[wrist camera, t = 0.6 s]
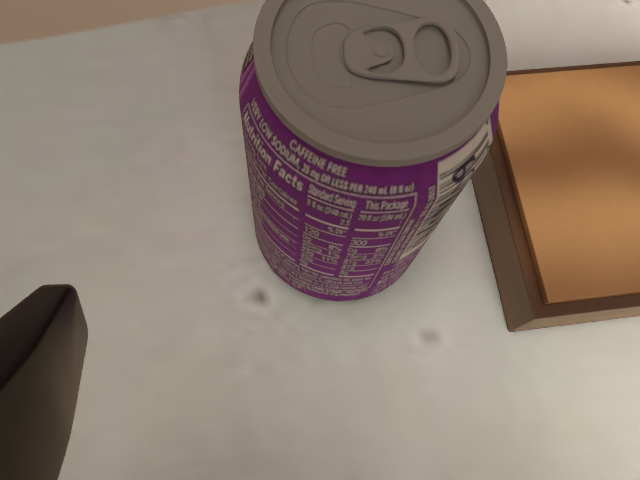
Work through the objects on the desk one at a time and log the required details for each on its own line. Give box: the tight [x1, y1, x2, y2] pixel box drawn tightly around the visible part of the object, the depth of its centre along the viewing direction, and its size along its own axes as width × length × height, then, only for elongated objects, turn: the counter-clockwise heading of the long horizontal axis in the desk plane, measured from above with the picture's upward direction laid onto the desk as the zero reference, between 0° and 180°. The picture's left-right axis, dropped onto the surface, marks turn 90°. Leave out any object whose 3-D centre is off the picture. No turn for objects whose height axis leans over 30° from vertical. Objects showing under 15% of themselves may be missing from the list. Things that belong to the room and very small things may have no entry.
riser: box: [472, 61, 640, 332], centre depth 25 cm, size 11×11×3 cm
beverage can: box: [239, 0, 507, 301], centre depth 19 cm, size 7×7×12 cm
